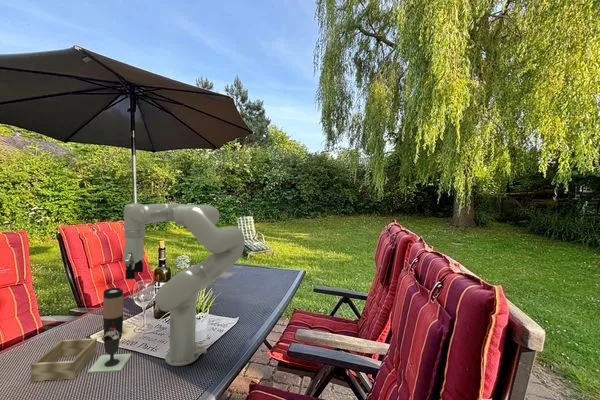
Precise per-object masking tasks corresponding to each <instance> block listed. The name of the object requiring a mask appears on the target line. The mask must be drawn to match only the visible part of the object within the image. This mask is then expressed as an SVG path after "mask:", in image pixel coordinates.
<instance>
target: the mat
mask: <svg viewBox="0 0 600 400" xmlns="http://www.w3.org/2000/svg"><path fill="white" fill-rule="evenodd" d="M132 355H133V354H132V353H120V354H119V353H118V354H116V353H115V354H114V359H118V360H119V361H120V362H119V363H118V364H117V365H115V366H112V367H106V366H105V365H104V364H105V363H106V362H107V361H109V360H110V355H109V354H101V355H100V356H99V358H97V360H95V362H94V363H93V364H92V366H90V368H89V369H88V371H87V374H98V373H99V374H100V373H103V374H104V373H114V372H115V373H116V372H122V371H123V369H124V367H125V366H126V364H127V363H128V361H129V360H130V358H131V357H132Z"/></svg>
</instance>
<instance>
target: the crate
mask: <svg viewBox="0 0 600 400" xmlns="http://www.w3.org/2000/svg"><path fill="white" fill-rule="evenodd" d="M97 345H98V344H97V338H96V337H95V338H80V339H79V338H77V339H60V340H59V341H57V342H56V343H55V344H54V345H53V346H52V347H50V348H49V349H48V350H47V351H45V352H44V353H43V354H42V355H41V356H40V357H39V358H37V359H36V360H35V361H34V362H32V363H31V364H30V376H31V377H30V382H31V381H39V382H45V381H44V380H54V381H62V380H61V379H69V380H75V379H76V377H77V376H78V375H79V374H80V373H81V371H82V370H83V369H84V368H85V367H86V366H87V365H88V363H89V362H91V360H92V359H93V358H94V357H95V356H96V355H97V354H98V353H97V350H98V349H97ZM71 356H75V357H74V358H73V359H72V360H65V361H63V360H62V361H59V359H60V358H62V357H71ZM58 379H59V380H58Z"/></svg>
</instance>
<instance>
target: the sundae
mask: <svg viewBox="0 0 600 400" xmlns="http://www.w3.org/2000/svg"><path fill="white" fill-rule="evenodd" d="M112 323H113V324H114V322H112ZM112 326H113V325H112ZM122 337H123V333H122V334H121V333H118V331H117V330H116V328H115V327H114V328H112V327H111V328H109V330H108V331H107V332H106V335H105V336H104V335H103V337H101V341H103V345H104V350H105V353H106V355H110V360H109V361H107V362H106V363H105V364H104V365H105V366H106V367H112V366H115V365H117V364H118V363H119V362H120V361H119V360H118V359H114V355H115V354H116V353H117V352H118V350H119V346H120V341H121V338H122Z"/></svg>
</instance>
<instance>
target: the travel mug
mask: <svg viewBox="0 0 600 400" xmlns="http://www.w3.org/2000/svg"><path fill="white" fill-rule="evenodd" d="M102 311H103V314H102V315H103V317H102V318H103V319H102V320H103V337H104V336H105V335H106V332H107V331H108V330H109V328H111V327H112V328H114V327H115V328H116V330H117V331H118V333H121V334H122V335H123V330H124V329H123V327H124V326H123V325H124V289H123V288H120V287H111V288H106V289H105V290H104V291H103V310H102ZM112 322H114V324H113V323H112ZM112 325H113V326H112Z"/></svg>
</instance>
